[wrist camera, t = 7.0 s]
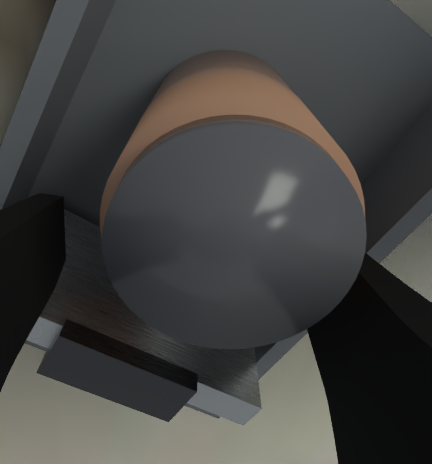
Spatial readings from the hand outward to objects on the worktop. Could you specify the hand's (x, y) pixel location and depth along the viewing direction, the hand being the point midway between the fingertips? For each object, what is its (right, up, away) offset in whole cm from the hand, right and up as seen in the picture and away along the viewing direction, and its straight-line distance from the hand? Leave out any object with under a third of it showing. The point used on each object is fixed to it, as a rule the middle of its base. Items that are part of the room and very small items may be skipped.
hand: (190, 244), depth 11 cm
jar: (+1, +4, +2) cm, 4 cm away
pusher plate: (-2, 0, +5) cm, 6 cm away
